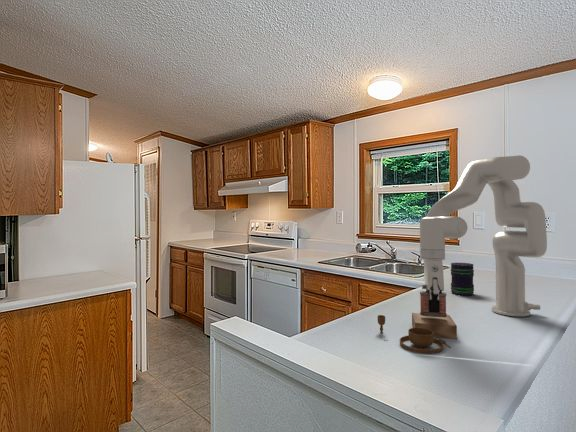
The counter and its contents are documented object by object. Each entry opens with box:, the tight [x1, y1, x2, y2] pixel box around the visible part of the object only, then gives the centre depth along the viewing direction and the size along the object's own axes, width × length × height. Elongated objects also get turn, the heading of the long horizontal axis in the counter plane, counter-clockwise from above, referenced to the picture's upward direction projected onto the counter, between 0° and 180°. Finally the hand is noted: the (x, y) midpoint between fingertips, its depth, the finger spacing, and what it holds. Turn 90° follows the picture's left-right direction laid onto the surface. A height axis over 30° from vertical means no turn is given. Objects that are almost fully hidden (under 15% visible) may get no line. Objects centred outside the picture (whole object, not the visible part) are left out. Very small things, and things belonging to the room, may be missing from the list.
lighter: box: [419, 284, 448, 317], centre depth 113 cm, size 8×3×10 cm, turn 71°
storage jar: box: [450, 262, 475, 297], centre depth 165 cm, size 10×10×15 cm
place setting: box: [377, 314, 452, 355], centre depth 104 cm, size 18×20×6 cm
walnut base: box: [411, 312, 458, 340], centre depth 113 cm, size 12×12×4 cm
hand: (433, 310), depth 113 cm, fingers closed on lighter, 3 cm apart
